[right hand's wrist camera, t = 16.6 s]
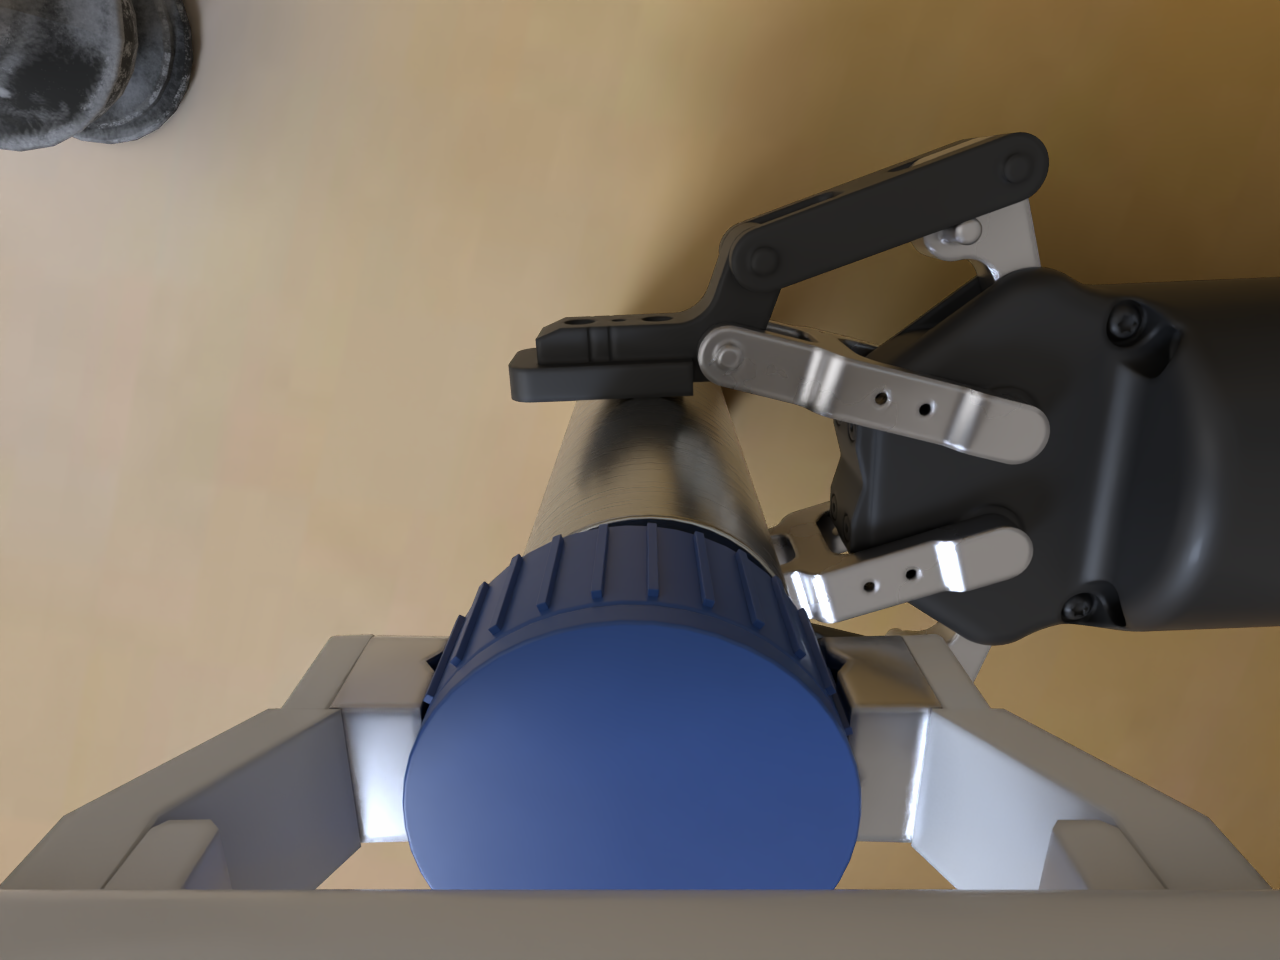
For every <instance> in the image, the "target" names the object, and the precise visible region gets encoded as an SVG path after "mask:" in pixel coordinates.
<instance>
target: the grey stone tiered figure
mask: <svg viewBox="0 0 1280 960" xmlns="http://www.w3.org/2000/svg"><path fill="white" fill-rule="evenodd" d="M192 62H193V53H192V38H191V28H190V24H189V21H188V18H187V14H186V11H185V8H184V4H183V1H182V0H0V149H5V150H13V151H27V150H33V149H39V148H45V147H51V146H55V145H57V144H59V143H61V142H63V141H65V140H67V139H68V138H70V137H74V138H77V139H79V140H82V141H90V142H98V143H106V144H115V143H121V142H127V141H133V140H137V139H139V138H141V137H143V136H145V135H147V134H149V133H151V132H153V131H155V130H157V129H159V128H160V127H161V126H162V125H163V124H164V123H165V122H166V120H167V119H168V118H169V117H170V116H171V115H172V114H173V113H174V112H175V111H176V110H177V108H178V106H179V104H180V102H181V100H182V98H183V96H184V94H185V92H186V90H187V88H188V83H189V78H190V73H191V67H192Z"/></svg>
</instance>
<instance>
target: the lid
mask: <svg viewBox="0 0 1280 960" xmlns="http://www.w3.org/2000/svg"><path fill="white" fill-rule="evenodd" d="M423 701H424V702H426V703H428V704H429V707H428V709H427V712H426V714H425V717H424V719H423V722H422V724H421V727H420V729H419V732H418V734H417V737H416V739H415V742H414V744H413V747H412V749H411V752H410V754H409V758H408V762H407V767H406V771H405V775H404V782H403V798H402V805H403V815H404V825H405V830H406V833H407V837H408V841H409V845H410V848H411V851H412V854H413V856H414V858H415V860H416V863H417V865H418V867H419V869H420V872H421V874H422V875H423V877H424V878H425V880H426V881H427V883H428V885H429V886H430V888H431V889H432V890H834V888H835V887H836V885H837V884H838V883H839V881H840V879H841V877H842V875H843V873H844V871H845V869H846V867H847V865H848V863H849V861H850V859H851V856H852V853H853V850H854V847H855V843H856V840H857V837H858V831H859V825H860V819H861V812H862V811H861V784H860V779H859V773H858V768H857V763H856V760H855V758H854V755H853V752H852V749H851V746H850V744H849V741H848V738H847V736H849V735H851V734H853V731H852V727H850V726H849V723H848V720H847V718H846V715H845V713H844V710H843V708H842V705H841V702H840V700H839V697H838V695H837V692H836V683H835V680H834V678H833V675H832V672H831V670H830V668H828V667H827V665H826V663H825V660H824V657H823V655H822V652H821V649H820V647H819V644H818V641H817V639H816V636H815V633H814V630H813V628H812V625H811V622H810V620H809V617H808V614H807V612H806V611H805V609H804V608H801V609H799V610H798V609H797V607H796V606H795V605H794V603H793V602H792V601H791V599H790V598H789V597H788V595H787V594H786V593H785V590H784V587H783V584H782V581H781V579H780V578H779V577H777V576H776V575H775V576H774V577H772V578H771V577H770V576H769V575H768V574H767V573H766V572H765V571H763V570H762V569H761V568H759V567H758V566H757V565H755V564H754V563H753V562H751V561H750V560H749V559H748V558H747V554H746V552H744V551H742V550H740V549H738V551H737V552H735V551H733V550H731V549H730V548H728V547H726V546H724V545H721V544H719V543H716V542H714V541H711V540H709V539H707V538H704V534H703V533H701V532H697V531H695V533H694V534H690V533H687V532H683V531H679V530H675V529H668V528H661V527H657V524H656V523H647V526H615V527H608V524H601V525H599V528H597V529H593V530H588V531H584V532H579V533H575V534H572V535H569V536H566V537H562V535H561V534H559V535H557V536H554V537H553V539H552V542H549V543H547V544H545V545H543V546H541V547H539V548H537V549H535V550H533V551H531V552H529V553H528V554H526V555H525V556H523V557H521V556H520V554H518V555H516V556H515V557H513V558H512V560H511V563H510V566H508V567H507V568H506V569H505V570H504V571H503V572H502V573H500V574H499V575H498V576H497V577H496V578H495V579H494V580H493V581H492V582H490V583H489V584H487V583H486V582H483V583H482V584H481V586H480V587H479V589H478V592H477V594H476V597H475V599H474V602H473V604H472V607H471V608H470V610H469V612H468V613H467V615H466V617H464V616H461V615H459V616H458V618H457V620H456V622H455V625H454V627H453V629H452V632H451V634H450V637H449V639H448V641H447V644H446V646H445V649H444V651H443V653H442V656H441V658H440V661H439V663H438V665H437V668H436V670H435V673H434V675H433V677H432V680H431V682H430V685H429V687H428V690H427V692H426V694H425V697H424V699H423Z"/></svg>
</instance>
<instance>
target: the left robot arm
mask: <svg viewBox="0 0 1280 960" xmlns="http://www.w3.org/2000/svg"><path fill="white" fill-rule="evenodd" d="M1048 167H1049V158H1048V153H1047V150H1046V148H1045V146H1044V144H1043V143H1042V142H1041V141H1040V139H1038V138H1037V137H1036V136H1034V135H1032V134H1029V133H1023V132H1018V133H1010V134H1002V135H994V136H987V137H979V138H971V139H963V140H960V141H957V142H954V143H951V144H949V145H946V146H943V147H941V148H938V149H935V150H933V151H930V152H927V153H925V154H922V155H919V156H917V157H914V158H911V159H909V160H906V161H903V162H901V163H898V164H895V165H893V166H890V167H887V168H885V169H882V170H879V171H877V172H874V173H871V174H869V175H866V176H863V177H861V178H858V179H855V180H852V181H850V182H847V183H844V184H842V185H839V186H836V187H834V188H831V189H828V190H826V191H823V192H820V193H818V194H815V195H812V196H810V197H807V198H804V199H802V200H799V201H796V202H794V203H791V204H788V205H786V206H783V207H780V208H778V209H775V210H772V211H770V212H767V213H764V214H762V215H759V216H756V217H754V218H751V219H748V220H746V221H743V222H740V223H738V224H736V225H734V226H732V227H731V228H729V230H728V231H727V232H726V233H725V234H724V236H723V237H722V240H721V242H720V246H719V257H718V260H717V263H716V265H715V268H714V271H713V274H712V277H711V280H710V283H709V286H708V288H707V291H706V293H705V294H704V296H703V297H702V299H701V300H700V301H699V302H698V303H697V304H696V305H694V306H693V307H691V308H690V309H687V310H685V311H682V312H677V313H660V314H636V315H614V316H594V317H590V316H588V317H565V318H563V319H561V320H559V321H557V322H555V323H552V324H550V325H548V326H546V327H544V328H543V329H542V330H541V332H540V333H539V335H538V337H537V338H536V348H530V349H525V350H521V351H519V352H517V353H516V355H515V356H514V358H513V359H512V361H511V362H510V363H509V375H510V386H511V396H512V399H513V400H515V401H518V402H554V401H578V400H603V399H628V398H642V397H677V396H693V382H712V383H714V384H716V385H719V386H723V387H727V388H731V389H735V390H739V391H743V392H747V393H751V394H756V395H760V396H764V397H768V398H772V399H776V400H780V401H784V402H788V403H793V404H796V405H799V406H802V407H804V408H807V409H808V410H810V411H812V412H814V413H817V414H819V415H822V416H825V417H828V418H832V419H834V426H835V431H836V435H837V439H838V443H839V447H840V452H841V457H840V460H839V463H838V466H837V469H836V472H835V475H834V478H833V482H832V485H831V493H830V501H828V502H825V503H821V504H818V505H815V506H812V507H808V508H805V509H802V510H799V511H795V512H793V513H790V514H789V515H787V516H785V517H784V518H783V519H782V520H781V522H780V523H779V524H778V525H777V526H775V527H772V528H769V529H768V530H769V533H770V536H771V539H772V542H773V545H774V548H775V551H776V554H777V557H778V560H779V563H780V566H781V569H782V572H783V575H784V578H785V581H786V584H787V587H788V590H789V593H790V596H791V599H792V602H793V603H794V605H795V606H796V607H797V609H798V610H799V609H801V608H804V609H805V611H806V612H807V614H808V617H809V618H812V619H816V620H818V621H820V622H824V623H835V622H840V621H844V620H847V619H850V618H854V617H857V616H861V615H864V614H868V613H871V612H874V611H878V610H881V609H885V608H888V607H892V606H895V605H899V604H902V603H905V602H908V603H910V604H911V605H913V606H914V607H916V608H918V609H919V610H921V611H922V612H924V613H926V614H927V615H929V616H930V617H932V618H933V619H935V620H937V621H938V622H937V623H936V624H935V625H934V626H932V627H931V628H929V629H926V630H923V631H902V630H901V629H898V628H894V629H891V630H889V631H888V632H887V633H886V635H885V636H904V635H928V634H936V635H938V636H940V637H942V638H943V639H944V641H945V642H946V643H947V645H948V646H949V648H950V649H951V651H952V652H953V654H954V655H955V657H956V658H957V660H958V661H959V662H960V664H961V665H962V667H963V668H964V670H965V671H966V673H967V674H968V676H969V677H970V679H971V680H972V681H973V683H974V681H975V678H976V676H977V674H978V672H979V670H980V668H981V666H982V664H983V662H984V660H985V658H986V656H987V654H988V652H989V650H990V647H991V646H996V645H1004V644H1009V643H1012V642H1015V641H1017V640H1019V639H1021V638H1023V637H1025V636H1027V635H1029V634H1031V633H1034V632H1036V631H1038V630H1041V629H1044V628H1047V627H1050V626H1054V625H1058V624H1078V625H1087V626H1094V627H1101V628H1108V629H1115V630H1122V631H1141V632H1143V631H1167V630H1192V629H1218V628H1243V627H1268V626H1280V277H1270V278H1244V279H1220V280H1197V281H1174V282H1150V283H1127V284H1103V285H1086V284H1082V283H1080V282H1077V281H1076V280H1074V279H1072V278H1071V277H1069V276H1067V275H1066V274H1064V273H1062V272H1060V271H1057V270H1054V269H1050V268H1045V267H1041V264H1040V259H1039V253H1038V248H1037V242H1036V237H1035V231H1034V226H1033V220H1032V215H1031V210H1030V204H1029V199H1028V198H1029V197H1031V196H1032V195H1033V194H1034V193H1036V192H1037V190H1038V189H1039V188H1040V187H1041V185H1042V184H1043V182H1044V180H1045V178H1046V176H1047V172H1048ZM908 242H912V244H913V246H914V247H915V248H916V250H917V251H919V252H920V253H921V254H923V255H925V256H928V257H932V258H936V259H940V260H944V261H957V260H962V259H967V260H968V261H969V262H970V263H971V264H972V265H973V266H974V268H975V270H976V273H977V276H975V277H974V278H972V279H971V280H970V281H968V282H967V283H966V284H964V285H963V286H961V287H960V288H959V289H957V290H956V291H955V292H953V293H952V294H950V295H949V296H948V297H946V298H945V299H944V300H942V301H941V302H940V303H938V304H937V305H935V306H934V307H933V308H931V309H930V310H929V311H927V312H926V313H924V314H923V315H922V316H920V317H919V318H918V319H916V320H915V321H914V322H912V323H911V324H909V325H908V326H907V327H905V328H904V329H903V330H901V331H900V332H898V333H897V334H896V335H894V336H893V337H892V338H890V339H889V340H887V341H886V342H885V343H883V344H882V345H878V344H874V343H870V342H866V341H862V340H858V339H854V338H850V337H846V336H842V335H838V334H834V333H831V332H827V331H823V330H819V329H815V328H810V327H805V326H793V325H788V324H784V323H780V322H776V321H772V320H770V317H771V314H772V312H773V309H774V306H775V303H776V301H777V298H778V295H779V293H780V290H781V288H784V287H786V286H789V285H792V284H795V283H798V282H800V281H803V280H806V279H809V278H811V277H814V276H817V275H820V274H822V273H825V272H828V271H831V270H833V269H836V268H839V267H842V266H844V265H847V264H850V263H853V262H856V261H858V260H861V259H864V258H867V257H869V256H872V255H875V254H878V253H880V252H883V251H886V250H889V249H891V248H894V247H897V246H900V245H902V244H905V243H908ZM846 551H848V553H849V554H840V553H843V552H846ZM811 625H812V628H813V630H814V633H815V636H816V639H818V638H822V637H859V636H863V635H859V634H855V633H851V632H846V631H842V630H838V629H834V628H830V627H826V626H821V625H817V624H813V623H811Z"/></svg>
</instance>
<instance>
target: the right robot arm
mask: <svg viewBox="0 0 1280 960" xmlns="http://www.w3.org/2000/svg"><path fill="white" fill-rule="evenodd" d="M448 639H449V637H448V636H396V635H377V636H374V635H372V634H370V635H337V636H333V637H331V638H330V639H329V640H328V641H327V643H326V644H325V646H324V647H323V648H322V650H321V651H320V653H319V654H318V656H317V657H316V659H315V660H314V661H313V663H312V664H311V666H310V667H309V669H308V670H307V672H306V673H305V674H304V676H303V677H302V679H301V680H300V682H299V683H298V685H297V686H296V687H295V689H294V690H293V692H292V693H291V695H290V696H289V698H288V699H287V700H286V702H285V703H284V705H283V706H282V708H281V709H267V710H265V711H263V712H261V713H259V714H257V715H256V716H254V717H252V718H250V719H248V720H246V721H244V722H242V723H240V724H238V725H236V726H235V727H233V728H231V729H229V730H227V731H225V732H223V733H221V734H219V735H217V736H215V737H214V738H212V739H210V740H208V741H206V742H204V743H202V744H200V745H198V746H196V747H194V748H193V749H191V750H189V751H187V752H185V753H183V754H181V755H179V756H177V757H175V758H173V759H172V760H170V761H168V762H166V763H164V764H162V765H160V766H158V767H156V768H154V769H152V770H151V771H149V772H147V773H145V774H143V775H141V776H139V777H137V778H135V779H133V780H131V781H130V782H128V783H126V784H124V785H122V786H120V787H118V788H116V789H114V790H112V791H110V792H108V793H107V794H105V795H103V796H101V797H99V798H97V799H95V800H93V801H91V802H89V803H87V804H86V805H84V806H82V807H80V808H78V809H76V810H74V811H72V812H70V813H68V814H66V815H65V816H63V817H62V818H61V819H60V820H59V821H58V823H57V824H56V825H55V826H54V827H53V828H52V829H51V830H50V831H49V832H48V833H47V834H46V836H45V837H44V838H43V839H42V840H41V841H40V842H39V843H38V844H37V845H36V846H35V848H34V849H33V850H32V851H31V852H30V853H29V854H28V855H27V856H26V857H25V858H24V860H23V861H22V862H21V863H20V864H19V865H18V866H17V867H16V868H15V869H14V870H13V872H12V873H11V874H10V875H9V876H8V877H7V878H6V879H5V880H4V881H3V882H2V884H1V885H0V960H1280V889H1272V888H1271V887H1270V886H1269V885H1268V883H1267V882H1266V881H1265V880H1264V879H1263V878H1262V877H1261V876H1260V874H1259V873H1258V872H1257V871H1256V870H1255V869H1254V868H1253V867H1252V866H1251V864H1250V863H1249V862H1248V861H1247V860H1246V859H1245V858H1244V857H1243V855H1242V854H1241V853H1240V852H1239V851H1238V850H1237V849H1236V848H1235V847H1234V845H1233V844H1232V843H1231V842H1230V841H1229V840H1228V839H1227V838H1226V837H1225V835H1224V834H1223V833H1222V832H1221V831H1220V830H1219V829H1218V828H1217V826H1216V825H1215V824H1214V823H1213V822H1212V821H1211V820H1210V819H1209V818H1208V817H1207V816H1205V815H1203V814H1201V813H1199V812H1197V811H1195V810H1194V809H1192V808H1190V807H1188V806H1186V805H1184V804H1182V803H1180V802H1178V801H1177V800H1175V799H1173V798H1171V797H1169V796H1167V795H1165V794H1163V793H1161V792H1160V791H1158V790H1156V789H1154V788H1152V787H1150V786H1148V785H1146V784H1144V783H1143V782H1141V781H1139V780H1137V779H1135V778H1133V777H1131V776H1129V775H1128V774H1126V773H1124V772H1122V771H1120V770H1118V769H1116V768H1114V767H1112V766H1111V765H1109V764H1107V763H1105V762H1103V761H1101V760H1099V759H1097V758H1095V757H1094V756H1092V755H1090V754H1088V753H1086V752H1084V751H1082V750H1080V749H1078V748H1077V747H1075V746H1073V745H1071V744H1069V743H1067V742H1065V741H1063V740H1062V739H1060V738H1058V737H1056V736H1054V735H1052V734H1050V733H1048V732H1046V731H1045V730H1043V729H1041V728H1039V727H1037V726H1035V725H1033V724H1031V723H1029V722H1028V721H1026V720H1024V719H1022V718H1020V717H1018V716H1016V715H1014V714H1012V713H1011V712H1009V711H1007V710H1005V709H991V708H990V706H989V705H988V703H987V702H986V700H985V699H984V698H983V696H982V695H981V693H980V692H979V690H978V689H977V687H976V686H975V684H974V683H973V681H972V680H971V679H970V677H969V676H968V674H967V673H966V671H965V670H964V668H963V667H962V665H961V664H960V662H959V661H958V660H957V658H956V657H955V655H954V654H953V652H952V651H951V649H950V648H949V646H948V645H947V643H946V642H945V641H944V639H943V638H942V637H940V636H938V635H936V634H928V635H904V636H859V637H822V638H818V639H817V641H818V644H819V647H820V649H821V652H822V655H823V657H824V660H825V663H826V665H827V667H828V668H830V670H831V672H832V675H833V678H834V680H835V683H836V692H837V695H838V697H839V700H840V702H841V705H842V708H843V710H844V713H845V715H846V718H847V720H848V723H849V726H850V727H852V731H853V734H851V735H849V736H847V738H848V741H849V744H850V746H851V749H852V752H853V755H854V758H855V760H856V763H857V768H858V773H859V779H860V784H861V811H862V812H861V819H860V825H859V831H858V837H857V840H856V841H872V842H909V843H912V844H911V846H912V847H913V848H914V849H915V850H916V851H917V852H918V853H919V854H920V855H921V856H923V857H924V858H925V859H926V860H927V861H928V862H929V863H930V864H931V865H932V866H933V867H934V868H935V869H936V870H937V871H938V872H940V873H941V874H942V875H943V876H944V877H945V878H946V879H947V880H948V881H949V882H950V883H951V884H952V885H953V886H954V887H955V888H956V889H958V890H375V889H316V888H317V887H318V886H319V885H320V884H321V883H322V882H323V881H325V880H326V879H327V878H328V877H329V876H330V875H331V874H332V873H333V872H334V871H335V870H336V869H337V868H338V867H340V866H341V865H342V864H343V863H344V862H345V861H346V860H347V859H348V858H349V857H350V856H351V855H352V854H354V853H355V852H356V851H357V850H358V849H359V848H360V847H361V843H364V842H399V841H408V837H407V833H406V830H405V825H404V815H403V805H402V798H403V782H404V775H405V771H406V767H407V762H408V758H409V754H410V752H411V749H412V747H413V744H414V742H415V739H416V737H417V734H418V732H419V729H420V727H421V724H422V722H423V719H424V717H425V714H426V712H427V709H428V707H429V704H428V703H426V702H424V701H423V699H424V697H425V694H426V692H427V690H428V687H429V685H430V682H431V680H432V677H433V675H434V673H435V670H436V668H437V665H438V663H439V661H440V658H441V656H442V653H443V651H444V649H445V646H446V644H447V641H448Z"/></svg>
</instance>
